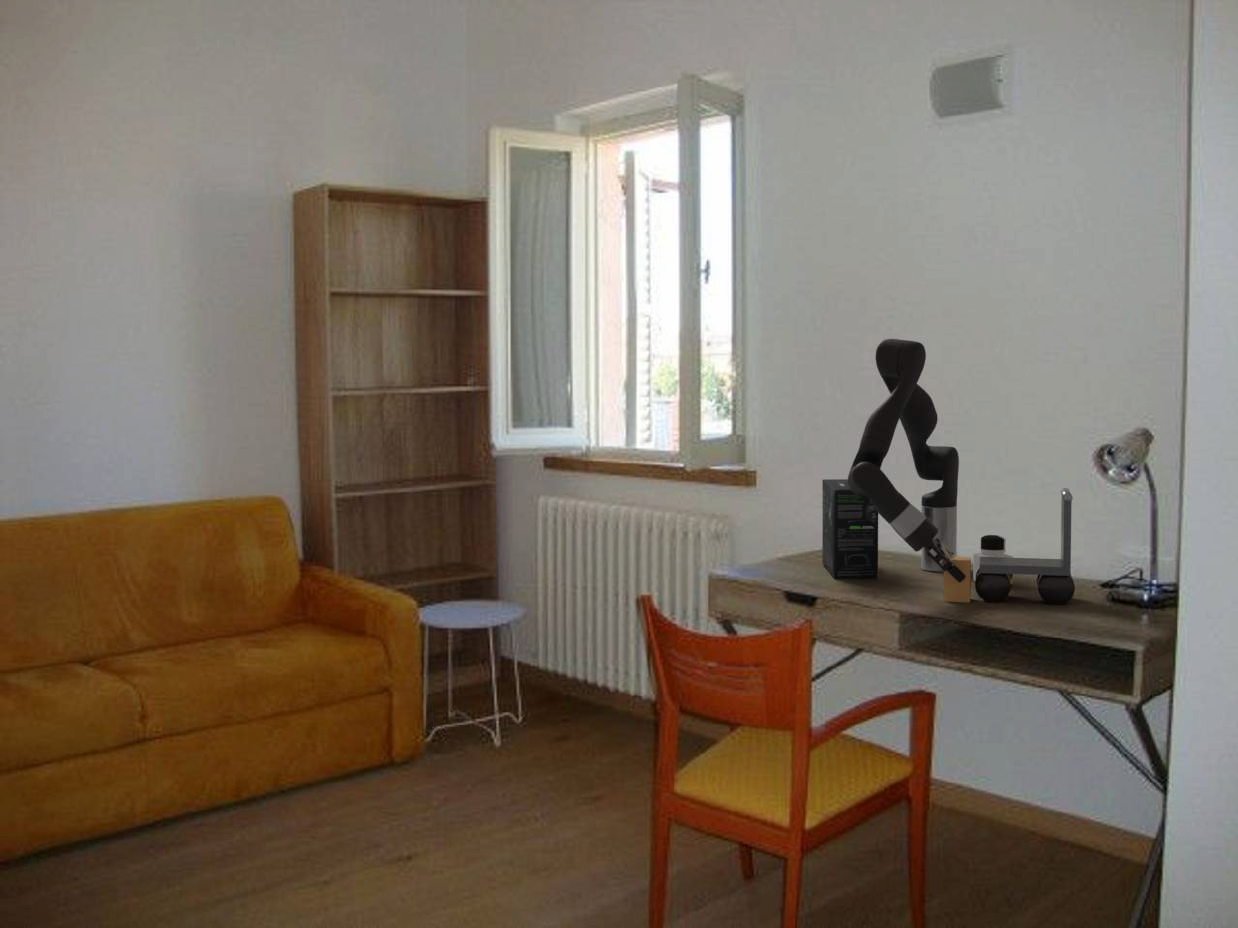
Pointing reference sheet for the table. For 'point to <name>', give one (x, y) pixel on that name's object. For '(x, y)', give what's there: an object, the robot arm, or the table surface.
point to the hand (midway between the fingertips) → (963, 576)
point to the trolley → (1032, 568)
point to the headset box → (849, 532)
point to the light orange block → (953, 587)
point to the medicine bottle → (990, 551)
